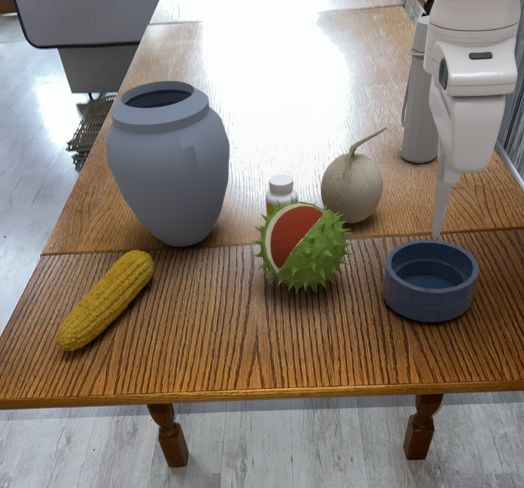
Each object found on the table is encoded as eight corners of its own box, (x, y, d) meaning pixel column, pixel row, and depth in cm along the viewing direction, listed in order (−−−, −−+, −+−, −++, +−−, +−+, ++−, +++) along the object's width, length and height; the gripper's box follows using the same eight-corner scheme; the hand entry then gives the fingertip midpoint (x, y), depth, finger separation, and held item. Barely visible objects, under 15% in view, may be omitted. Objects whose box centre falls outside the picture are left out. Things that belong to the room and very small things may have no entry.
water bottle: (445, 157, 113) (468, 18, 96) (417, 169, 110) (435, 28, 93) (412, 143, 119) (428, 10, 101) (385, 154, 116) (397, 19, 98)
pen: (429, 229, 75) (446, 127, 66) (449, 234, 74) (468, 131, 65) (423, 238, 74) (438, 135, 64) (442, 243, 73) (461, 139, 63)
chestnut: (310, 286, 71) (222, 231, 76) (315, 330, 84) (240, 280, 89) (377, 203, 74) (289, 155, 79) (373, 257, 87) (297, 213, 92)
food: (133, 271, 92) (125, 241, 88) (162, 277, 90) (155, 246, 86) (54, 356, 78) (39, 324, 74) (86, 365, 76) (73, 333, 72)
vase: (212, 275, 89) (187, 124, 72) (110, 258, 95) (64, 115, 78) (255, 214, 102) (242, 74, 85) (163, 202, 108) (133, 69, 91)
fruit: (311, 232, 96) (310, 149, 86) (330, 200, 104) (331, 120, 93) (370, 240, 93) (376, 155, 83) (385, 207, 101) (393, 125, 90)
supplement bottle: (296, 240, 95) (294, 187, 88) (265, 238, 96) (261, 187, 89) (300, 223, 99) (299, 172, 92) (270, 222, 100) (267, 171, 93)
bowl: (430, 263, 87) (435, 230, 83) (489, 305, 79) (499, 271, 75) (365, 290, 84) (367, 257, 79) (420, 338, 75) (426, 304, 71)
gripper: (425, 24, 66) (412, 138, 76) (451, 85, 51) (431, 216, 61) (480, 21, 65) (459, 136, 75) (522, 82, 51) (490, 215, 60)
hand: (447, 173), depth 68 cm, fingers closed on pen, 2 cm apart
